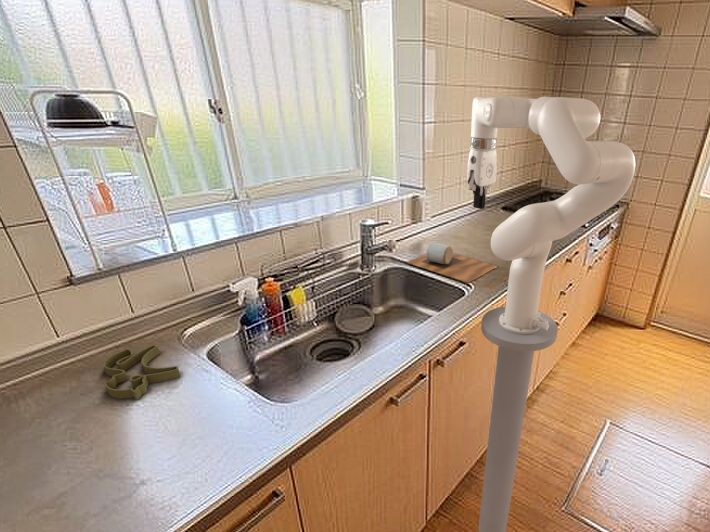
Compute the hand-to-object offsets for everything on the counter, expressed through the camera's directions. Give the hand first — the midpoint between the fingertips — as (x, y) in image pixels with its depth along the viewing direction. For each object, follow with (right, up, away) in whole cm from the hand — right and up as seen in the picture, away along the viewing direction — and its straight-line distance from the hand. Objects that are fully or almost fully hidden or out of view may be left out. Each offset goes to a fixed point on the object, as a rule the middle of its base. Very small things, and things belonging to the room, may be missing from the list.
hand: (479, 207), depth 129 cm
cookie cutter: (-75, -45, -38) cm, 95 cm away
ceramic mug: (-14, -14, +31) cm, 37 cm away
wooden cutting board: (-9, -15, +29) cm, 34 cm away
